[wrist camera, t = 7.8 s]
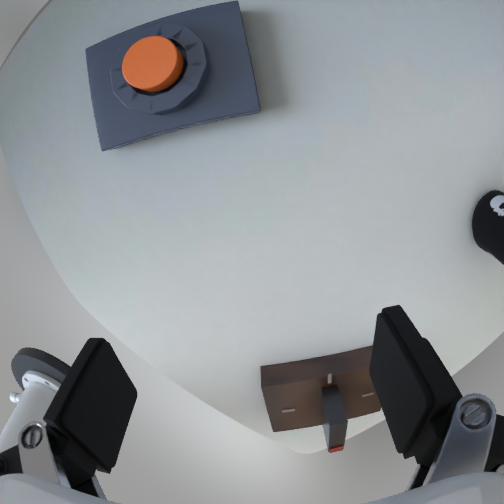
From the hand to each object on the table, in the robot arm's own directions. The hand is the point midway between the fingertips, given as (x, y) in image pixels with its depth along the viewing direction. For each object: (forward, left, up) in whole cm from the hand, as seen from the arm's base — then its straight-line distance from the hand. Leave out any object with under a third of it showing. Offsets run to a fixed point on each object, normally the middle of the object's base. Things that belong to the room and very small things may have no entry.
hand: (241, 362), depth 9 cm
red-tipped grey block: (+5, -21, -12) cm, 25 cm away
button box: (-4, +13, -15) cm, 20 cm away
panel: (+5, -21, -15) cm, 27 cm away
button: (-4, +13, -12) cm, 18 cm away
